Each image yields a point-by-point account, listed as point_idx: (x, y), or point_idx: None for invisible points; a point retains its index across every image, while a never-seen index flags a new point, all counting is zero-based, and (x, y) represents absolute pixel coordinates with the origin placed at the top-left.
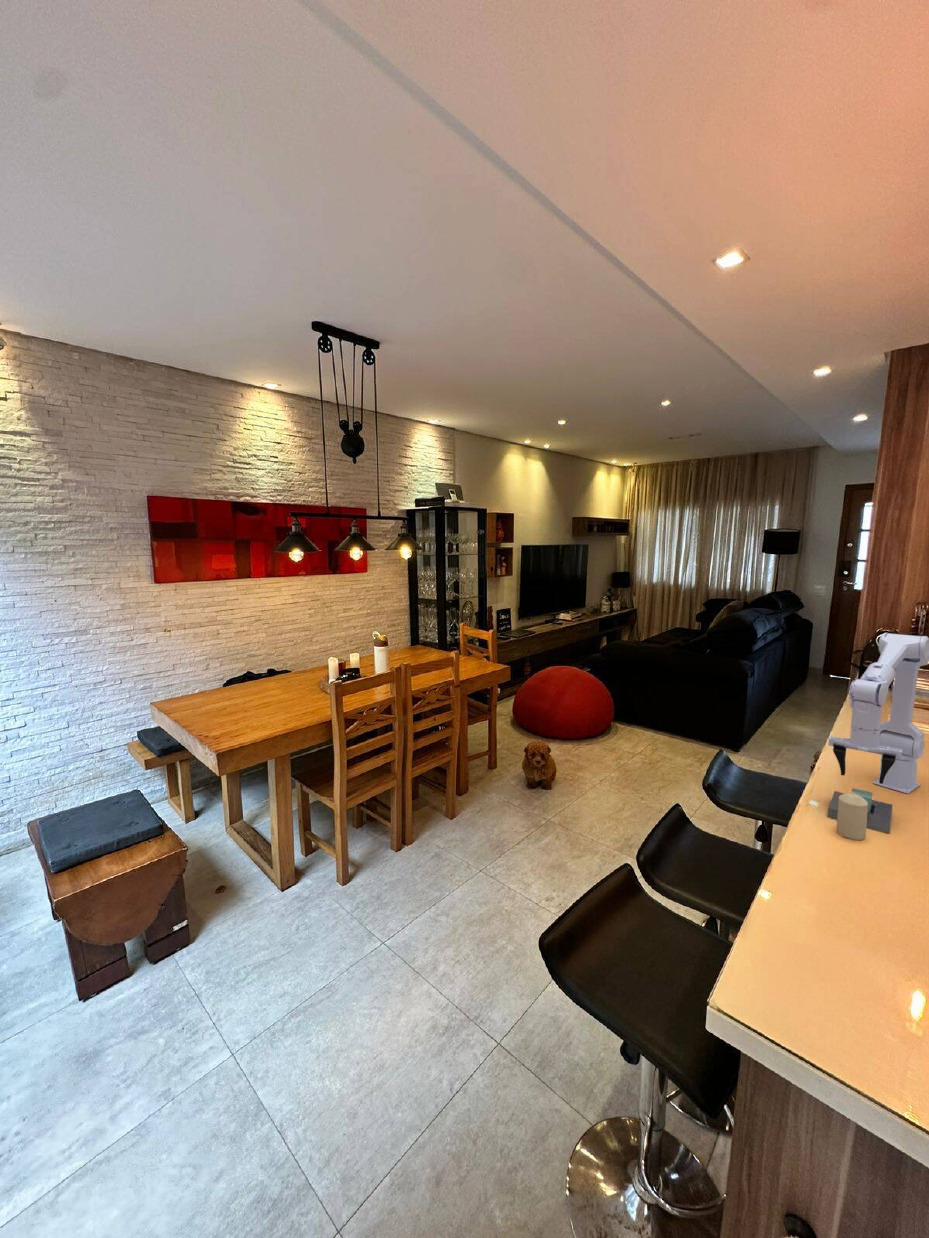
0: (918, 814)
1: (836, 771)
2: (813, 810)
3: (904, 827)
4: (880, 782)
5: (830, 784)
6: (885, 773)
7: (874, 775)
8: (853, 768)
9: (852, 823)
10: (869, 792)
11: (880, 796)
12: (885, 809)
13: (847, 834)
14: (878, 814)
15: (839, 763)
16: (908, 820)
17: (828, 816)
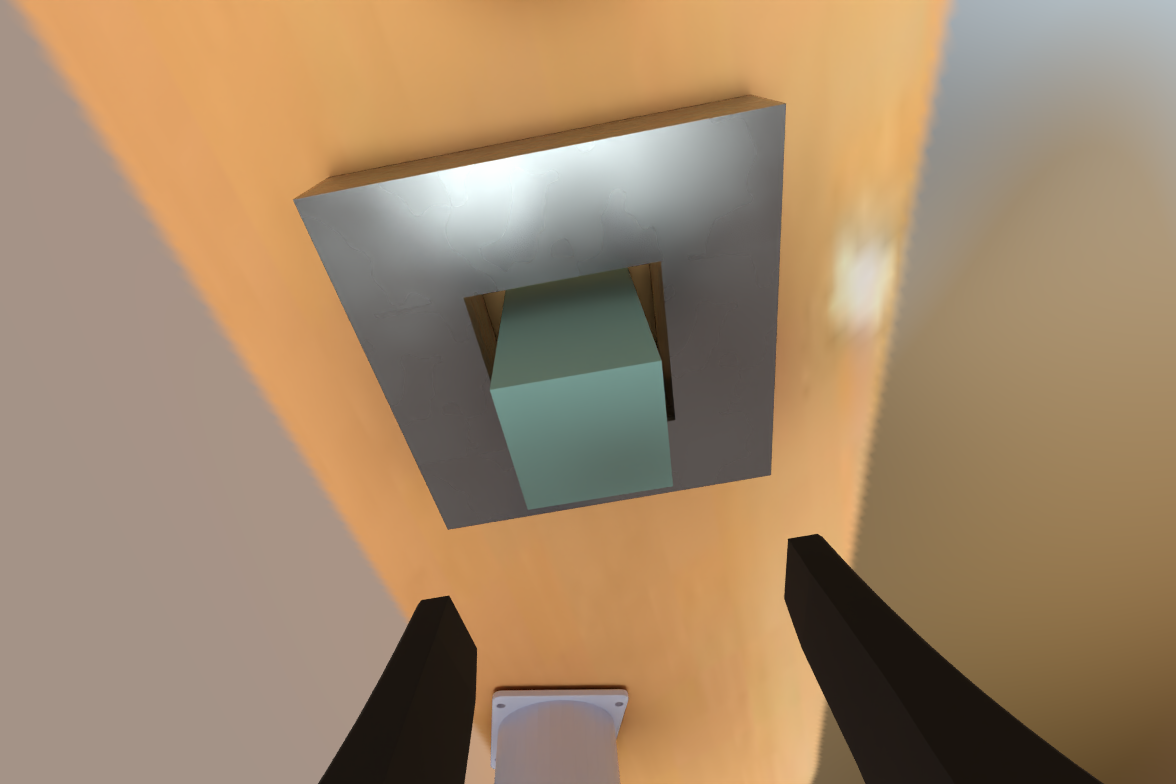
0: (374, 561)
1: (772, 693)
2: (861, 142)
3: (330, 365)
4: (435, 609)
5: (784, 580)
6: (338, 761)
7: (640, 738)
8: (717, 741)
9: None
10: (544, 498)
11: (567, 612)
12: (445, 439)
13: None
14: (437, 318)
15: (954, 676)
16: (367, 469)
17: (749, 95)
